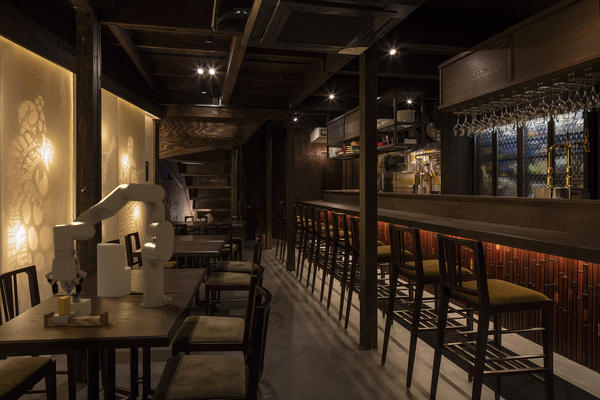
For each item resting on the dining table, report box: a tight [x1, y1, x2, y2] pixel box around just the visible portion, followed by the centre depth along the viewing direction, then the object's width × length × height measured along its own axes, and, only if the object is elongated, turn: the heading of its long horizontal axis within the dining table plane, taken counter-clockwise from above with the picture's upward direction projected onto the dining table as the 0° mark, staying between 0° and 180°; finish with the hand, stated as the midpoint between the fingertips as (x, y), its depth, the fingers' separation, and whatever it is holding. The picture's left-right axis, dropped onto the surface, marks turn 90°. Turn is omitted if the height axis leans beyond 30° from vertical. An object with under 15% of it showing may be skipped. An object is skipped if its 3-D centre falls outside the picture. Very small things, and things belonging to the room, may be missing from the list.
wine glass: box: [59, 280, 76, 296], centre depth 205 cm, size 8×8×15 cm
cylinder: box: [96, 242, 132, 298], centre depth 230 cm, size 17×17×28 cm
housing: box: [71, 298, 92, 316], centre depth 185 cm, size 9×9×7 cm
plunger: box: [70, 291, 81, 303], centre depth 185 cm, size 4×4×7 cm
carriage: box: [53, 295, 76, 325], centre depth 174 cm, size 6×7×11 cm
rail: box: [43, 310, 109, 327], centre depth 174 cm, size 24×5×5 cm, turn 91°
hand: (67, 293), depth 175 cm, fingers open, 9 cm apart
